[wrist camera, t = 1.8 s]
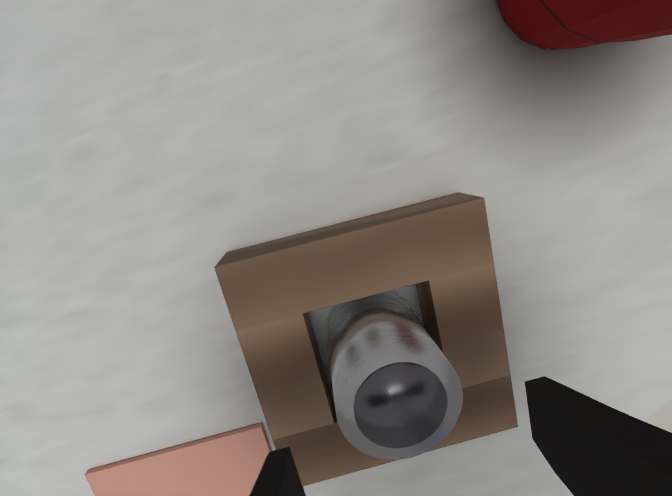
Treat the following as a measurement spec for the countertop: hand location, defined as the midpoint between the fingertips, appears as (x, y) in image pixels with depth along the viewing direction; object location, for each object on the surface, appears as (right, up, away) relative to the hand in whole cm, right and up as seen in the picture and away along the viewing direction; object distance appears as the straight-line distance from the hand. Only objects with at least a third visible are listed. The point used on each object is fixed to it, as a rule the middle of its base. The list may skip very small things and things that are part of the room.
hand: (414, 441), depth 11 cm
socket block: (-1, +2, +8) cm, 8 cm away
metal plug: (-1, +2, +8) cm, 8 cm away
